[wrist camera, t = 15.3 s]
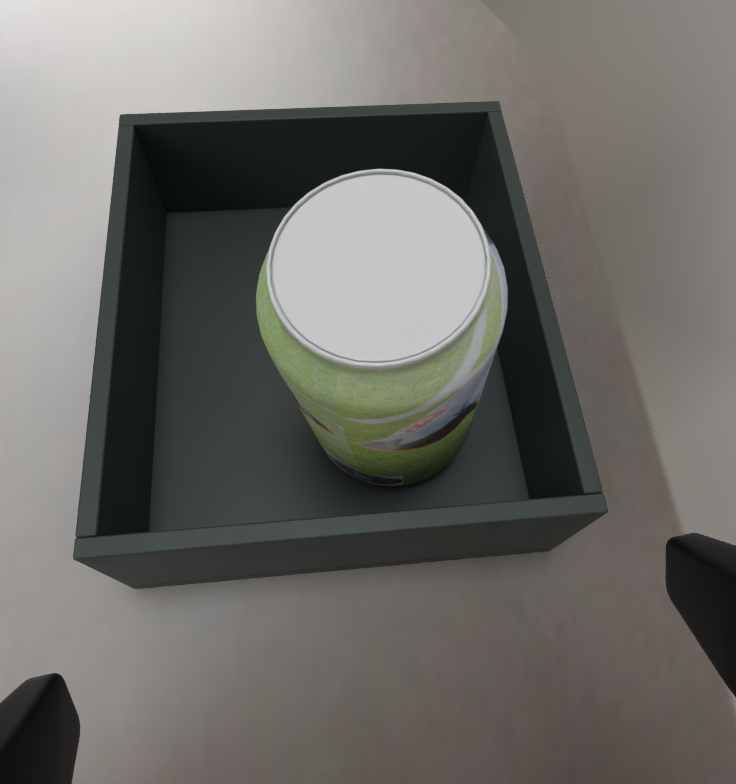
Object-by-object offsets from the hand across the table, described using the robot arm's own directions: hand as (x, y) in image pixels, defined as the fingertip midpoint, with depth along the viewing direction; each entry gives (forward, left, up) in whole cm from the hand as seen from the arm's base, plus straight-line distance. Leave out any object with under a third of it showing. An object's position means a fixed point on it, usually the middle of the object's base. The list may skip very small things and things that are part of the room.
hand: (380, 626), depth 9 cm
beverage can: (+6, -5, -13) cm, 15 cm away
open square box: (+10, -6, -14) cm, 18 cm away
